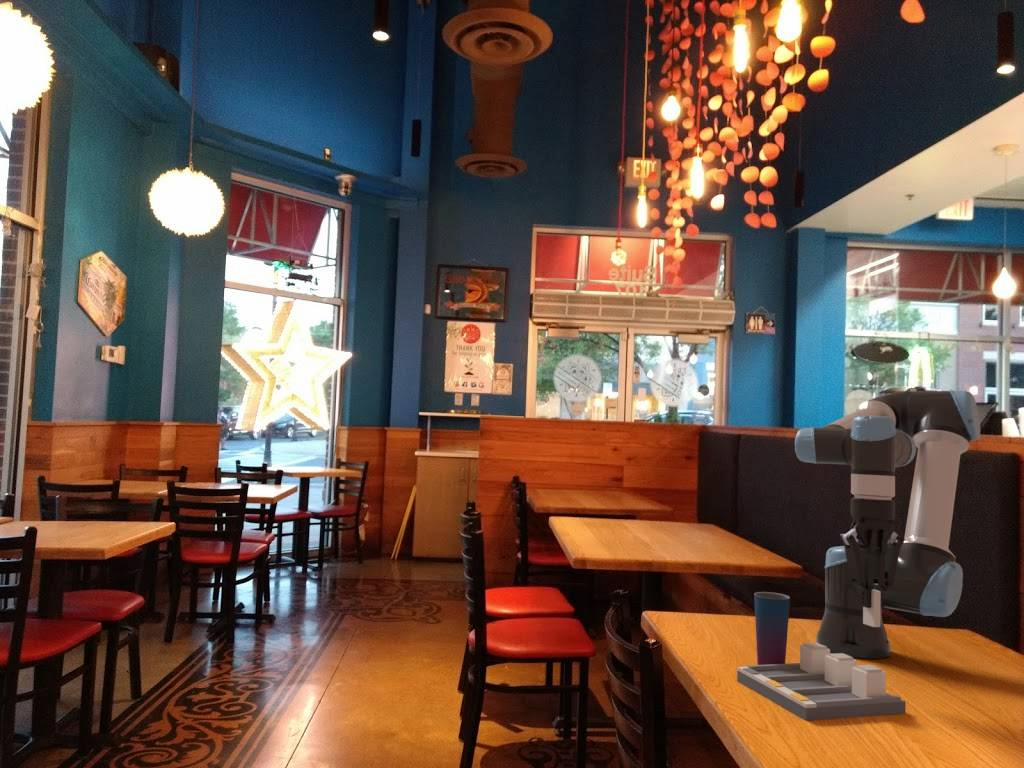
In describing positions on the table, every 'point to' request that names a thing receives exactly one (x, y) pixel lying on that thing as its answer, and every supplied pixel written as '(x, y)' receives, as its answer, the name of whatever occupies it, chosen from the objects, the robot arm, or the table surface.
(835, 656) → the tab middle
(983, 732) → the table surface
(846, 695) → the switch bank
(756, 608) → the cup
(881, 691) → the tab
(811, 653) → the tab
